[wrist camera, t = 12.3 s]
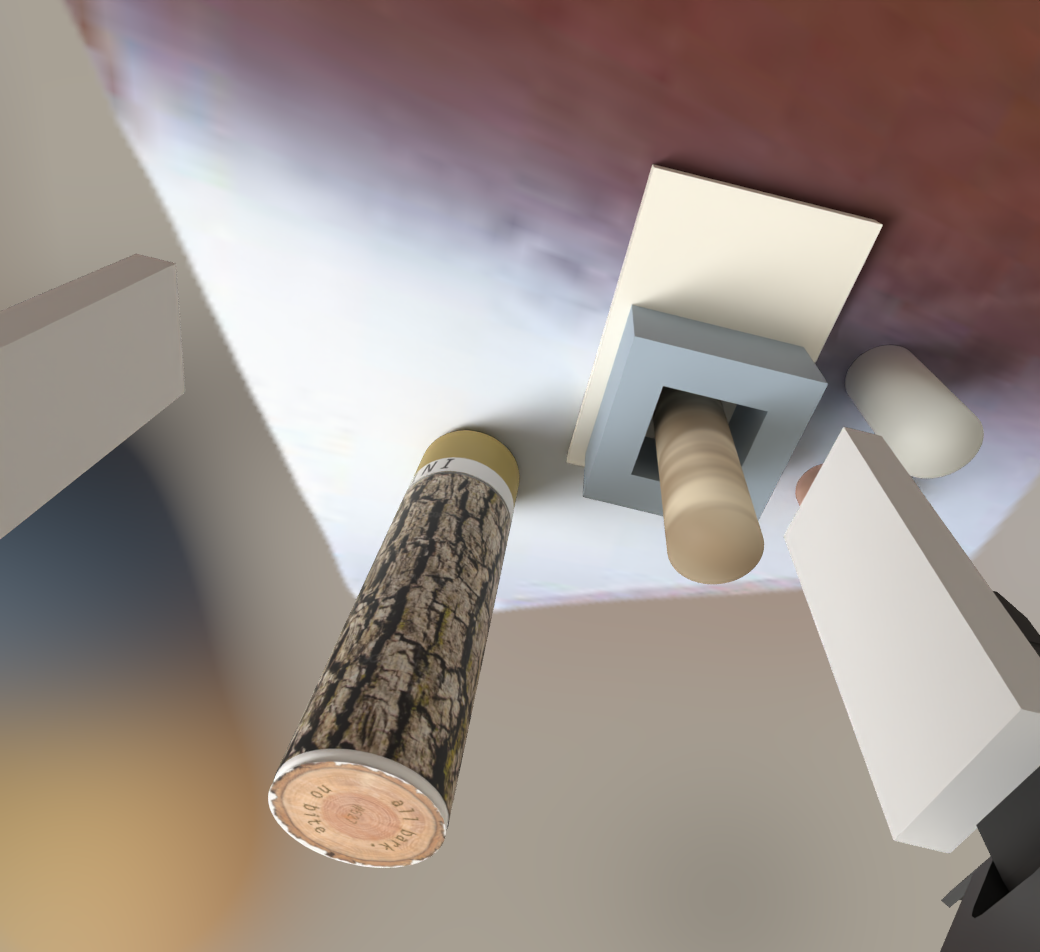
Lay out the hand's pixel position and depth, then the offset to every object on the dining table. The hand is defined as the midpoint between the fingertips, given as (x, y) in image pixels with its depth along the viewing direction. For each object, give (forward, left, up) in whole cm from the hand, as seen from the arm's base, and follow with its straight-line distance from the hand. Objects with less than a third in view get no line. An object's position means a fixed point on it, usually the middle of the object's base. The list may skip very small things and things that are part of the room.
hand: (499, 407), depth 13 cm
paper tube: (+19, -2, -27) cm, 33 cm away
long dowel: (+10, +10, -26) cm, 29 cm away
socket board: (+7, +10, -27) cm, 29 cm away
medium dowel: (+6, +21, -27) cm, 34 cm away
